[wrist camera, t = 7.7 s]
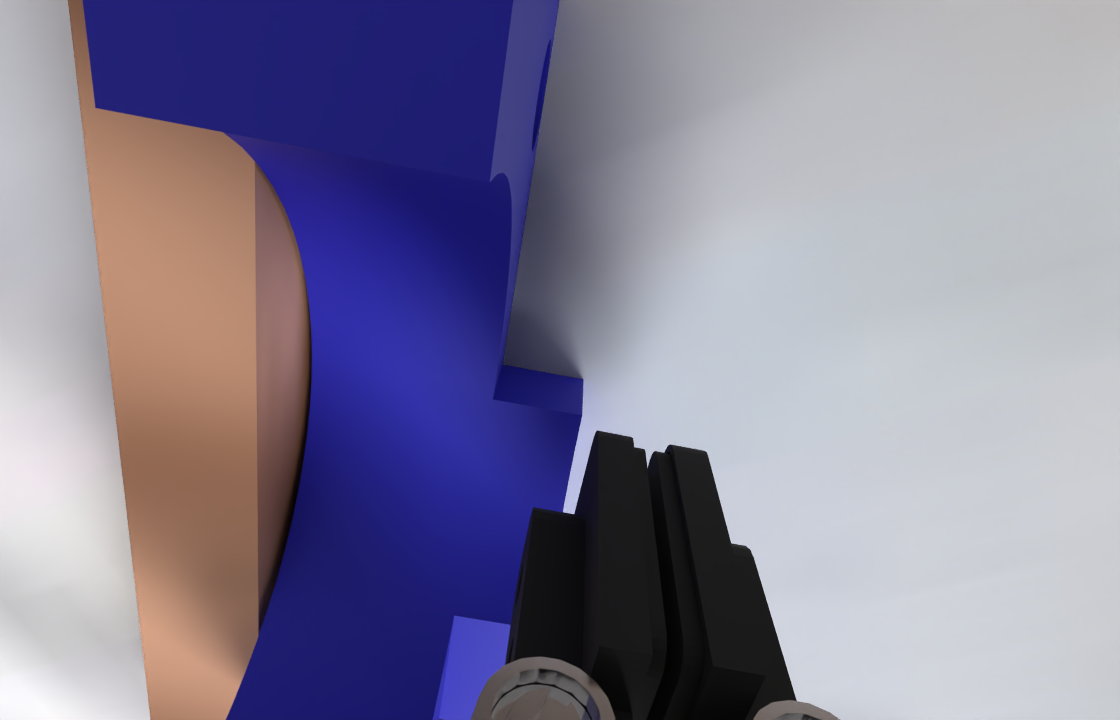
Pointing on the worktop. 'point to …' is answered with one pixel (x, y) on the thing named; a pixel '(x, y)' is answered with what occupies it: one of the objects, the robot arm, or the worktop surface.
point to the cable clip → (382, 321)
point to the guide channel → (198, 386)
